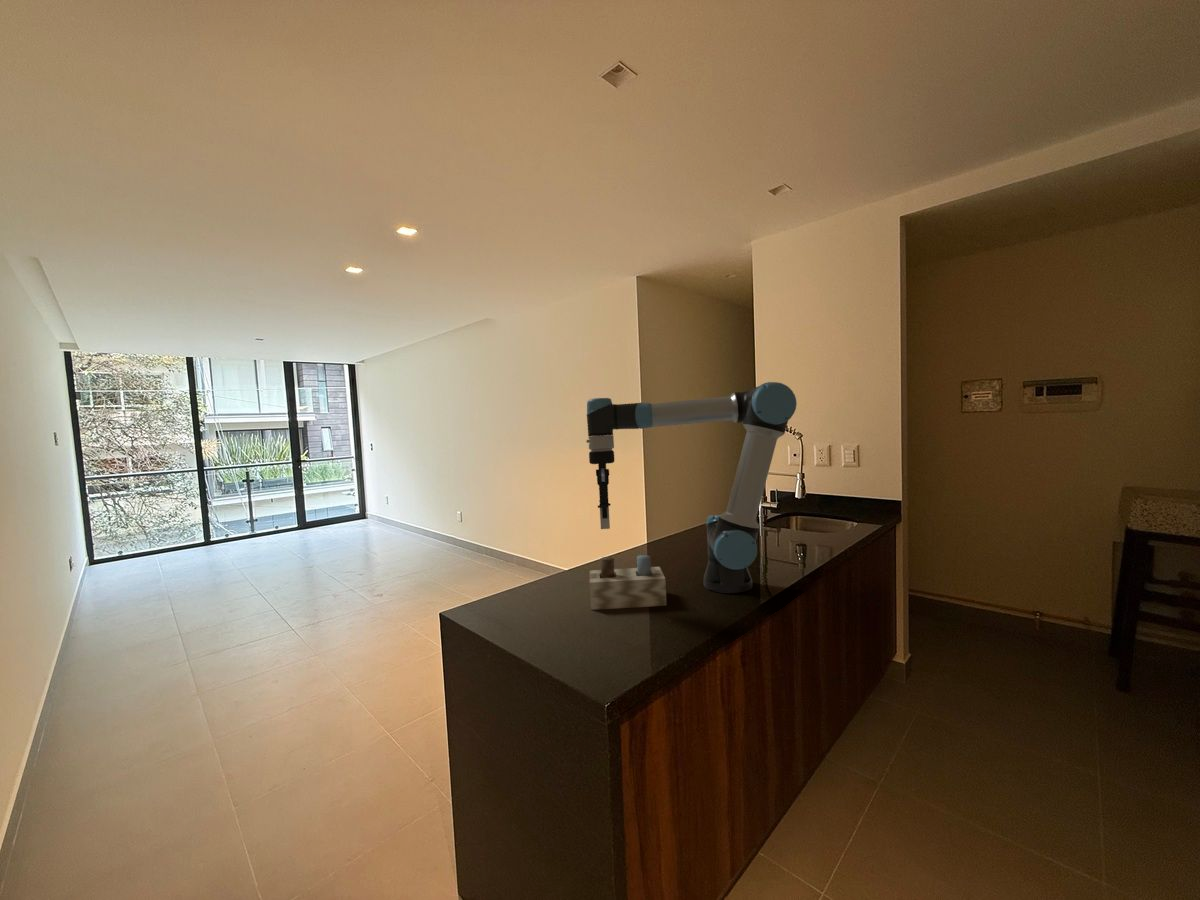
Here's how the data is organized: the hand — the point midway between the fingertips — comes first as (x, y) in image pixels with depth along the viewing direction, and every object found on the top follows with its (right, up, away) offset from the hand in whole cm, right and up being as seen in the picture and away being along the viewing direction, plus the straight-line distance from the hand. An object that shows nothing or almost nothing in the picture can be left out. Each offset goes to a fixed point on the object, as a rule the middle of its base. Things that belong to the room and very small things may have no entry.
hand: (605, 528), depth 143 cm
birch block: (+7, -22, +1) cm, 23 cm away
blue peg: (+12, -17, +1) cm, 21 cm away
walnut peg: (+1, -17, +1) cm, 17 cm away
